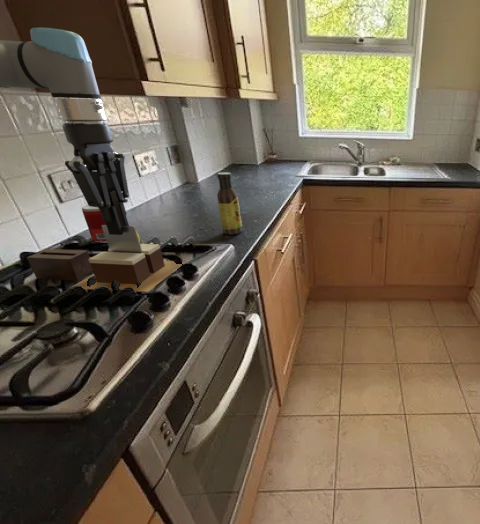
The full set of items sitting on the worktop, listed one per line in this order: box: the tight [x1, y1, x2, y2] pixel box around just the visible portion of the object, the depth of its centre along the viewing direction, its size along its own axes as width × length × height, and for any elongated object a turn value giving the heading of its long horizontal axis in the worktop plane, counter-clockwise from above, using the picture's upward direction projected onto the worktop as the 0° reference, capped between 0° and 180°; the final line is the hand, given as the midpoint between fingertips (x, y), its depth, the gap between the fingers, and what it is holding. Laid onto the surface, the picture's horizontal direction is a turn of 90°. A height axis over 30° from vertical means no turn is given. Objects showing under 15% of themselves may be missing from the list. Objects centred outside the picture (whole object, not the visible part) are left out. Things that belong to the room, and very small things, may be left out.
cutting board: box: [69, 260, 187, 293], centre depth 81 cm, size 18×16×2 cm
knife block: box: [26, 248, 93, 282], centre depth 79 cm, size 10×5×7 cm, turn 87°
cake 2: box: [107, 243, 165, 273], centre depth 82 cm, size 10×4×6 cm, turn 87°
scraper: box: [102, 191, 142, 253], centre depth 76 cm, size 8×2×16 cm, turn 87°
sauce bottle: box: [216, 171, 243, 236], centre depth 109 cm, size 6×6×20 cm
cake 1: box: [89, 251, 151, 284], centre depth 77 cm, size 10×4×6 cm, turn 88°
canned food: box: [81, 204, 107, 242], centre depth 102 cm, size 8×8×11 cm
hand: (120, 232), depth 77 cm, fingers closed on scraper, 2 cm apart
